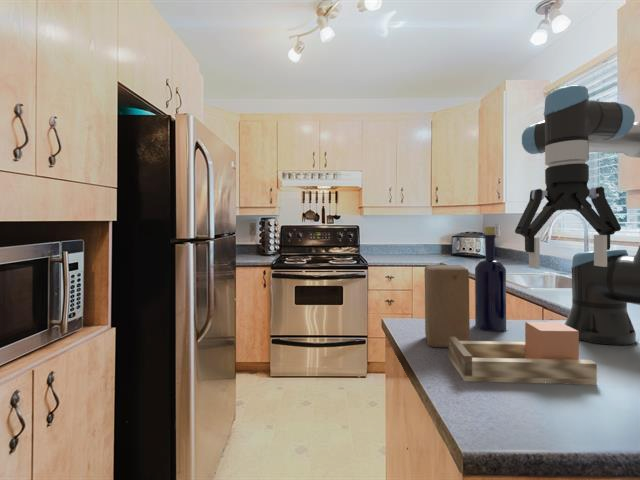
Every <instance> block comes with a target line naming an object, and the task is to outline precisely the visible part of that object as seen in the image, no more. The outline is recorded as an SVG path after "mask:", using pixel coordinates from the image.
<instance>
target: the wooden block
mask: <svg viewBox="0 0 640 480" xmlns="http://www.w3.org/2000/svg"><path fill="white" fill-rule="evenodd" d="M470 321H471V320H470V271H469V269H468V268H466V267H464V266H463V265H460V264H427V265H425V266H424V331H425V332H424V334H425V338H426V342H427V344H428V346H429V347H431V348H448V349H449V336H454V337H456V338H457V339H458V340H459V341H471V340H470V337H471V335H470V333H471V332H470V331H471V330H470V327H471V326H470V324H471V323H470Z"/></svg>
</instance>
